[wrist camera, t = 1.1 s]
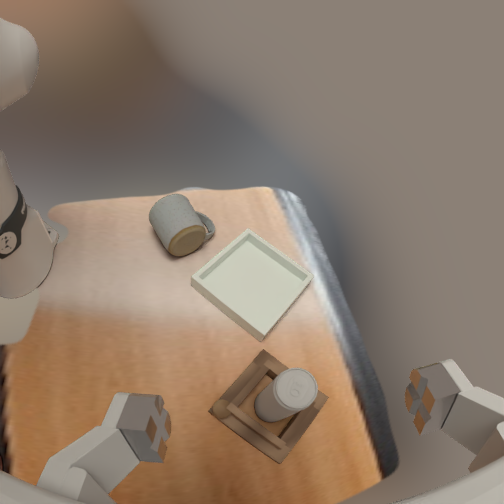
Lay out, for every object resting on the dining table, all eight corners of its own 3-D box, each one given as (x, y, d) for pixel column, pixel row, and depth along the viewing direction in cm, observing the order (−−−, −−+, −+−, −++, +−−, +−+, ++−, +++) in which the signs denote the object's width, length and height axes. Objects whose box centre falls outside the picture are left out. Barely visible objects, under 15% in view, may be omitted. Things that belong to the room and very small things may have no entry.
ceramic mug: (169, 265, 50) (168, 235, 44) (149, 232, 54) (147, 200, 48) (223, 242, 55) (229, 212, 49) (200, 212, 59) (203, 181, 53)
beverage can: (292, 398, 40) (325, 376, 31) (279, 428, 37) (309, 416, 28) (261, 384, 41) (285, 359, 32) (247, 414, 38) (267, 398, 29)
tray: (190, 285, 49) (191, 276, 47) (245, 237, 57) (248, 228, 55) (260, 342, 45) (264, 335, 43) (309, 283, 53) (314, 275, 51)
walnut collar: (208, 411, 37) (209, 408, 35) (262, 350, 44) (265, 345, 42) (279, 463, 34) (284, 463, 32) (326, 398, 41) (333, 394, 39)
